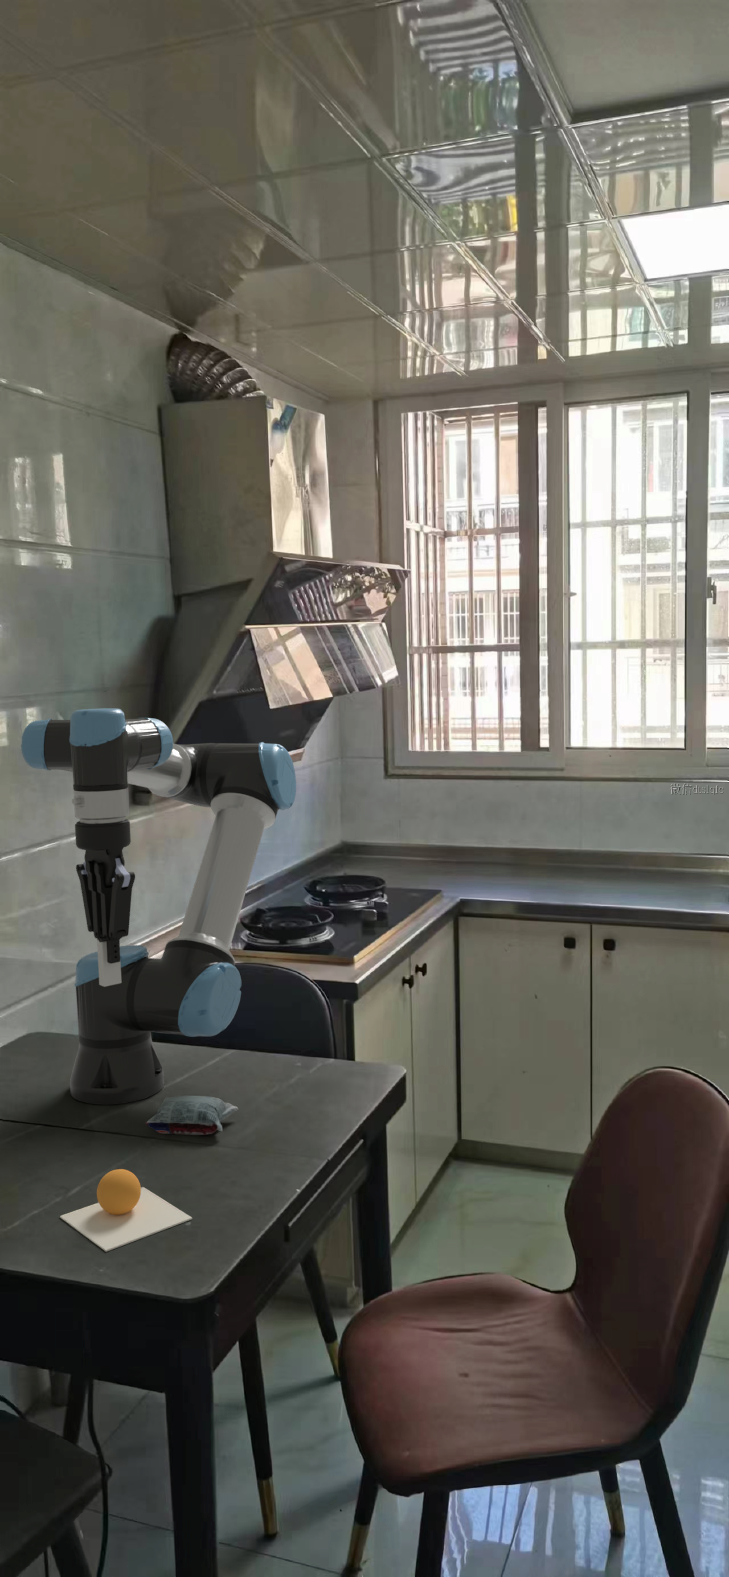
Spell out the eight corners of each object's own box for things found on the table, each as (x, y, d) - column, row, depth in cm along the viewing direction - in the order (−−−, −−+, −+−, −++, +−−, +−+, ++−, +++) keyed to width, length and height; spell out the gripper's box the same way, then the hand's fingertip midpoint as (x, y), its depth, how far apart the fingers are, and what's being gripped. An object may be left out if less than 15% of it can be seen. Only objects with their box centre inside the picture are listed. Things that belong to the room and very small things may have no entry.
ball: (114, 1184, 146) (111, 1226, 147) (150, 1173, 150) (147, 1214, 151) (89, 1168, 150) (86, 1209, 151) (126, 1158, 154) (123, 1198, 155)
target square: (59, 1217, 150) (59, 1215, 150) (143, 1188, 157) (143, 1187, 157) (106, 1251, 141) (105, 1250, 141) (192, 1219, 148) (192, 1217, 148)
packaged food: (165, 1116, 183) (164, 1085, 182) (239, 1120, 181) (238, 1089, 180) (145, 1139, 175) (143, 1107, 174) (221, 1143, 172) (220, 1111, 172)
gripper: (56, 818, 168) (64, 980, 171) (100, 826, 158) (109, 998, 161) (103, 812, 173) (111, 970, 175) (149, 820, 163) (157, 987, 165)
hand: (110, 983), depth 168 cm, fingers closed
